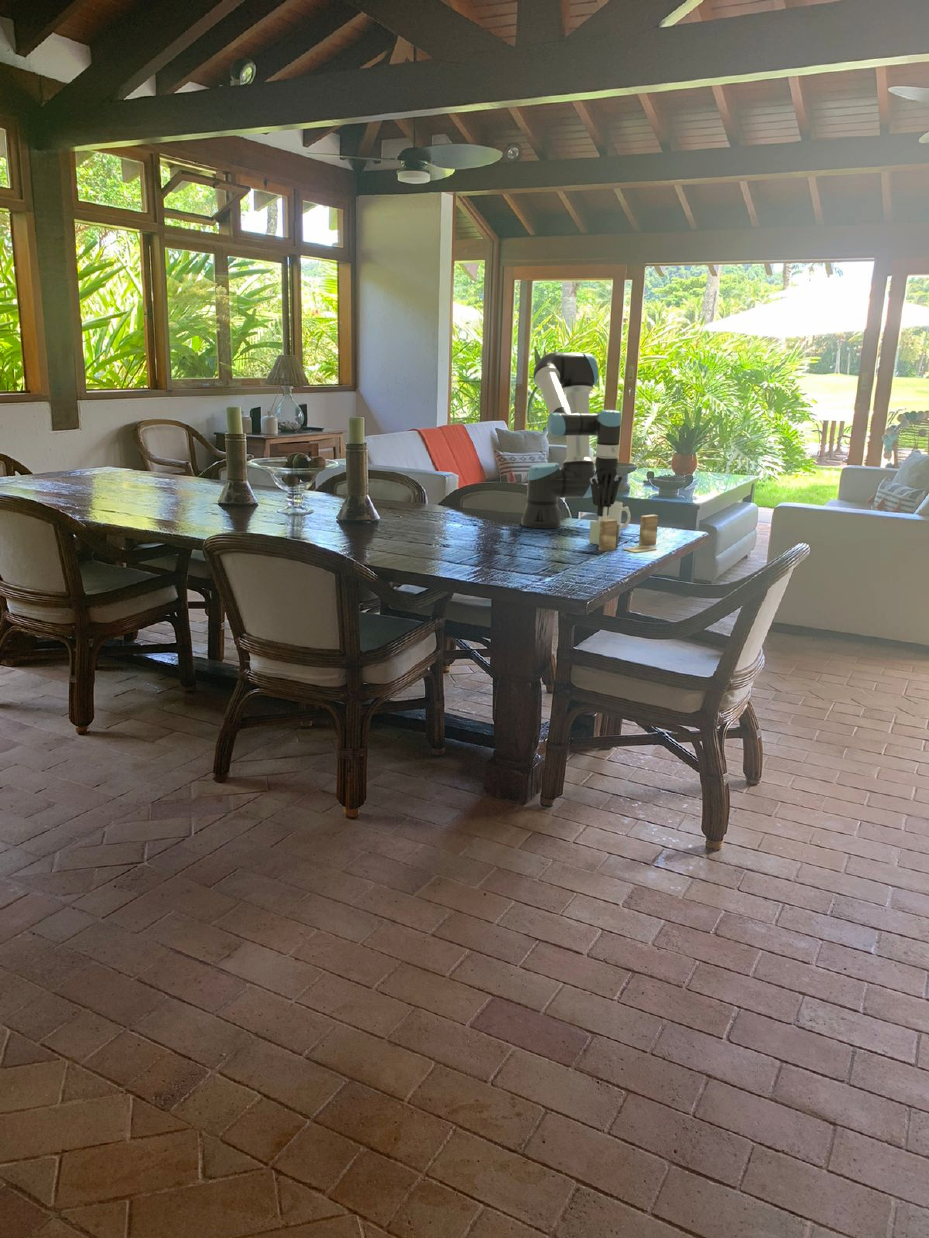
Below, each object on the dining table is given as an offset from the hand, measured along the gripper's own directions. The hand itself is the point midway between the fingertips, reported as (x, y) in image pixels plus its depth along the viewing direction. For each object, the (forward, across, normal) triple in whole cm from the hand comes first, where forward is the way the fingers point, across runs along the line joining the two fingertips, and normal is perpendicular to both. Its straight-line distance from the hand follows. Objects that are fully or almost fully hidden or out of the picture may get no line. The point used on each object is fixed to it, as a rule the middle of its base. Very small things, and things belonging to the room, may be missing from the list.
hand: (602, 525), depth 323 cm
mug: (+7, +13, +8) cm, 17 cm away
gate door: (+6, -2, -5) cm, 8 cm away
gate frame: (+6, +5, -13) cm, 15 cm away
